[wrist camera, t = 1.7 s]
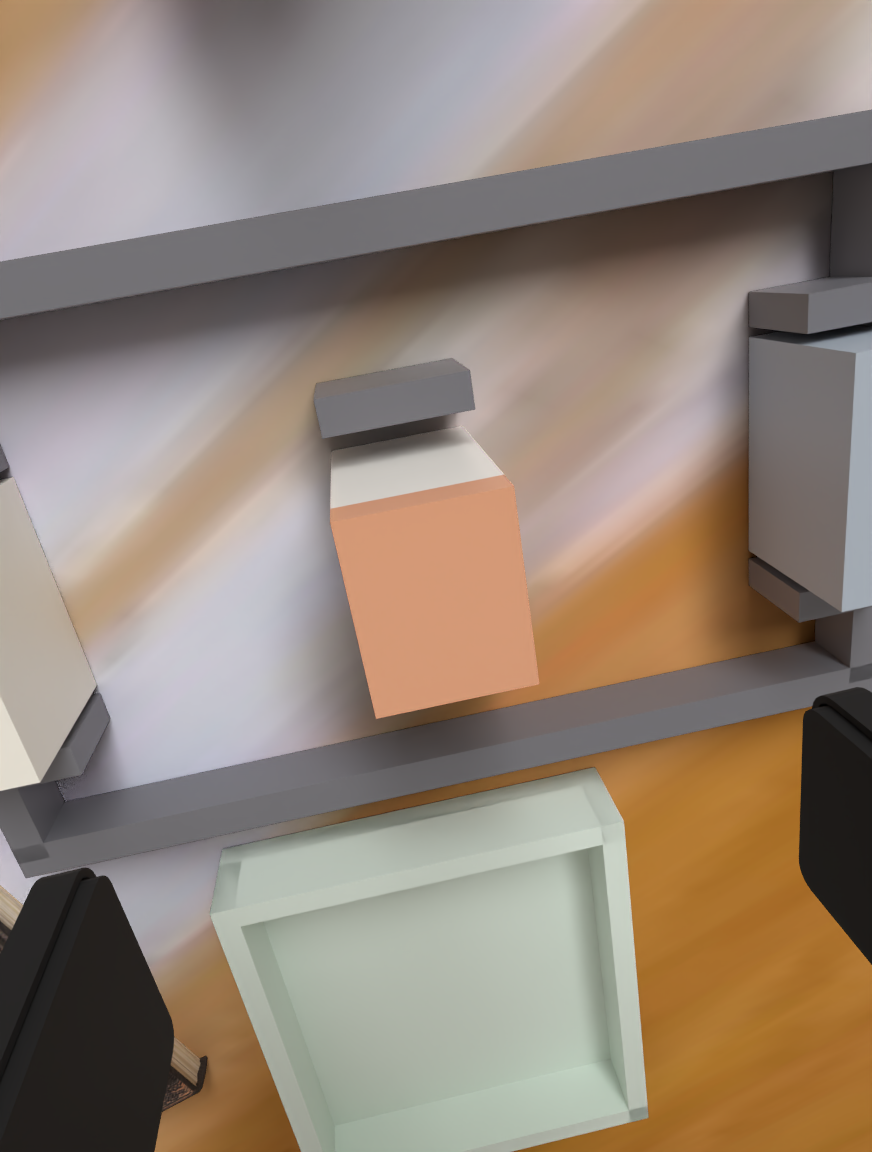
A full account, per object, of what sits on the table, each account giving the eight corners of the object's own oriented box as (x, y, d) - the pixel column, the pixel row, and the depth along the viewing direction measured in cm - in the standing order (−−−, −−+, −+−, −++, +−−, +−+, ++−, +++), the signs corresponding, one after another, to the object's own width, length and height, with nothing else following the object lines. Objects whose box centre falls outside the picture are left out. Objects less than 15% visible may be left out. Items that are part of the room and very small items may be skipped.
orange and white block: (462, 425, 22) (513, 486, 16) (485, 576, 24) (539, 684, 18) (331, 450, 22) (330, 522, 16) (364, 600, 24) (375, 718, 18)
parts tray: (595, 767, 28) (623, 821, 25) (622, 1049, 34) (648, 1117, 31) (222, 849, 27) (209, 914, 24) (320, 1122, 33) (319, 1198, 30)
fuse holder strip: (869, 116, 21) (1024, 70, 16) (839, 664, 27) (941, 742, 23) (-205, 304, 19) (-378, 313, 14) (47, 835, 26) (-15, 956, 21)
